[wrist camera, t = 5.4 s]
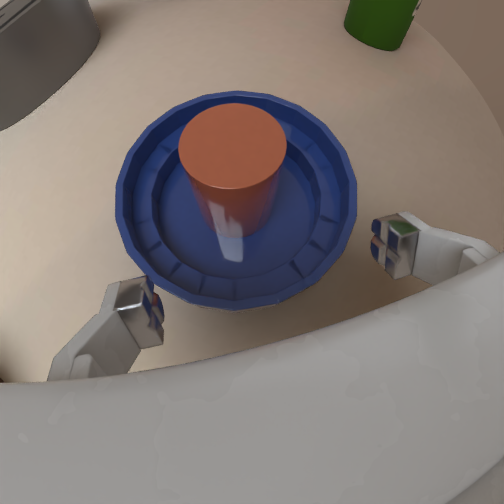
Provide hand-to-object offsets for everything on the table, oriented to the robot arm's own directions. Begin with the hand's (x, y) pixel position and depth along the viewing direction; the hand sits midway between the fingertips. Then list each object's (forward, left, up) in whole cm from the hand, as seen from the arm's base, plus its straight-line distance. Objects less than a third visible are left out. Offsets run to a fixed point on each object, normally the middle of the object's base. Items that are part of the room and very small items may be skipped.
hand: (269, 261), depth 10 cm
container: (+48, +1, -11) cm, 49 cm away
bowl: (+6, -4, -11) cm, 13 cm away
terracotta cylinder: (+6, -4, -11) cm, 13 cm away
